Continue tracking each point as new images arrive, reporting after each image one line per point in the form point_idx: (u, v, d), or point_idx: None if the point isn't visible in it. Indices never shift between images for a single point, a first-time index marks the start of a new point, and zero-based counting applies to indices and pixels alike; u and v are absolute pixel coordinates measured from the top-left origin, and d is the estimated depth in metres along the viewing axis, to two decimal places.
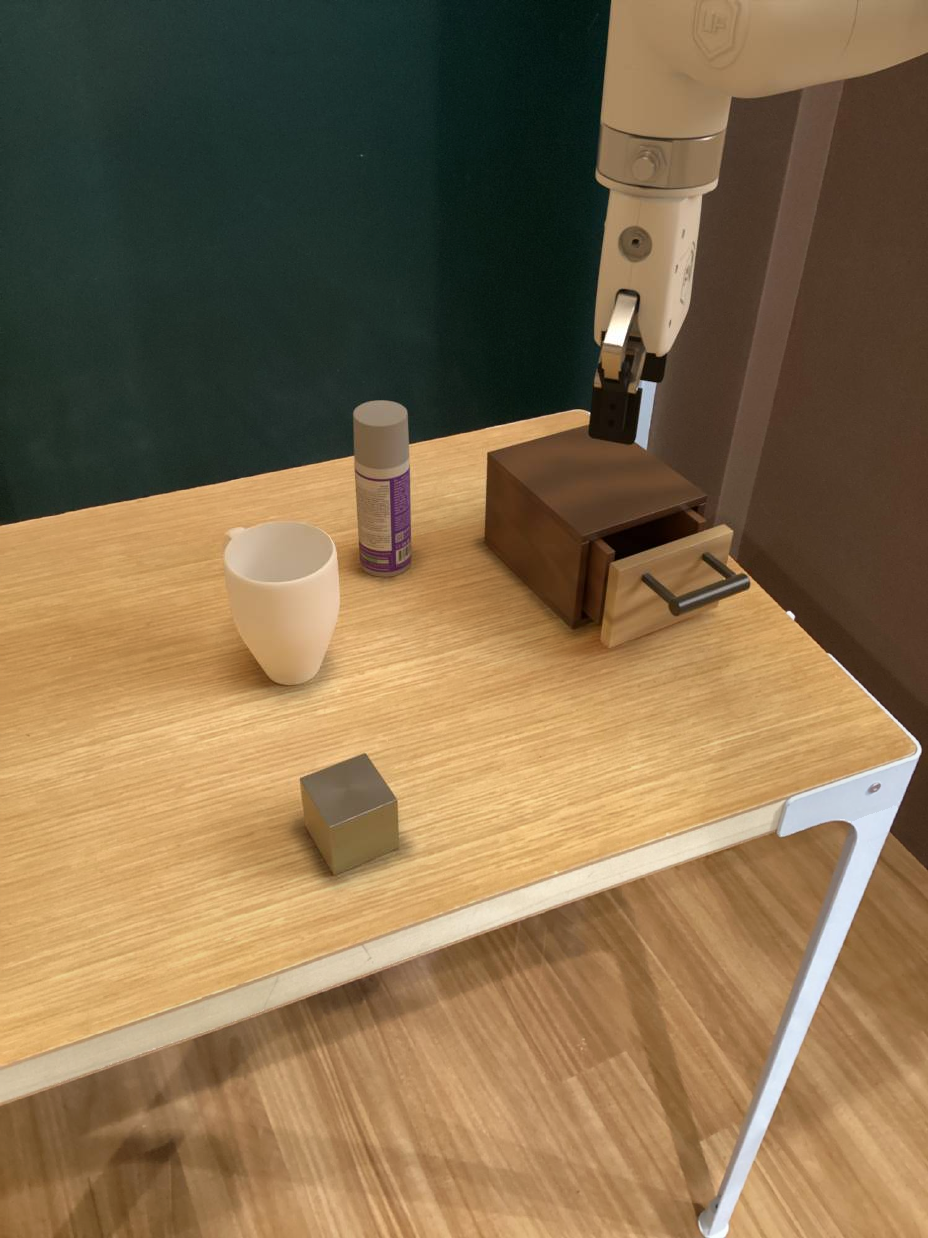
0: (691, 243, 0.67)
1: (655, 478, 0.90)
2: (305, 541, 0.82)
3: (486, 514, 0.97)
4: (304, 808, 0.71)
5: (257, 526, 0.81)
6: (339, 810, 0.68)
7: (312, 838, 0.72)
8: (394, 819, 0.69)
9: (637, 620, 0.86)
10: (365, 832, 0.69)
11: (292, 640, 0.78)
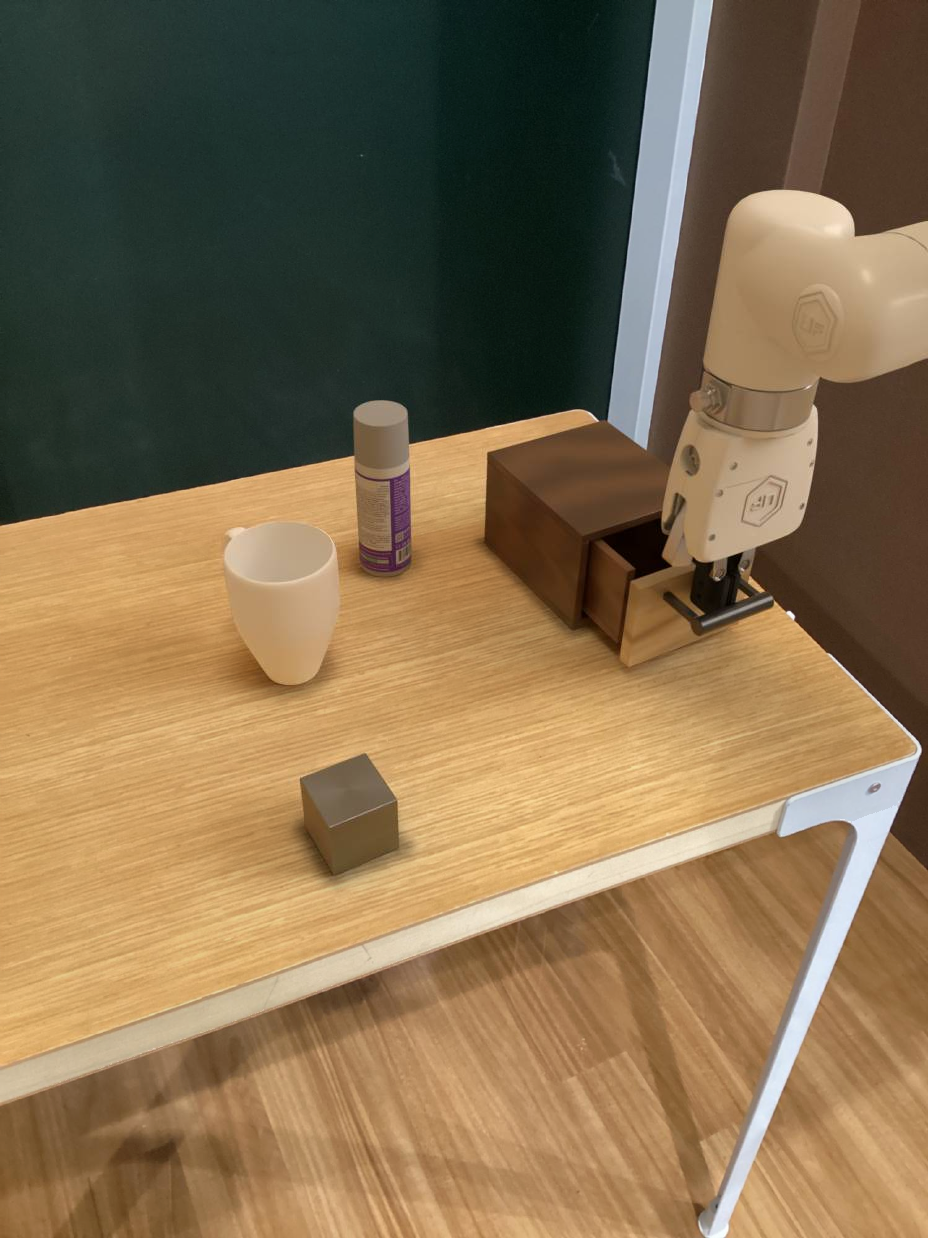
0: (762, 476, 0.72)
1: (655, 478, 0.90)
2: (305, 541, 0.82)
3: (486, 514, 0.97)
4: (304, 808, 0.71)
5: (257, 526, 0.81)
6: (339, 810, 0.68)
7: (312, 838, 0.72)
8: (394, 819, 0.69)
9: (657, 639, 0.84)
10: (365, 832, 0.69)
11: (292, 640, 0.78)
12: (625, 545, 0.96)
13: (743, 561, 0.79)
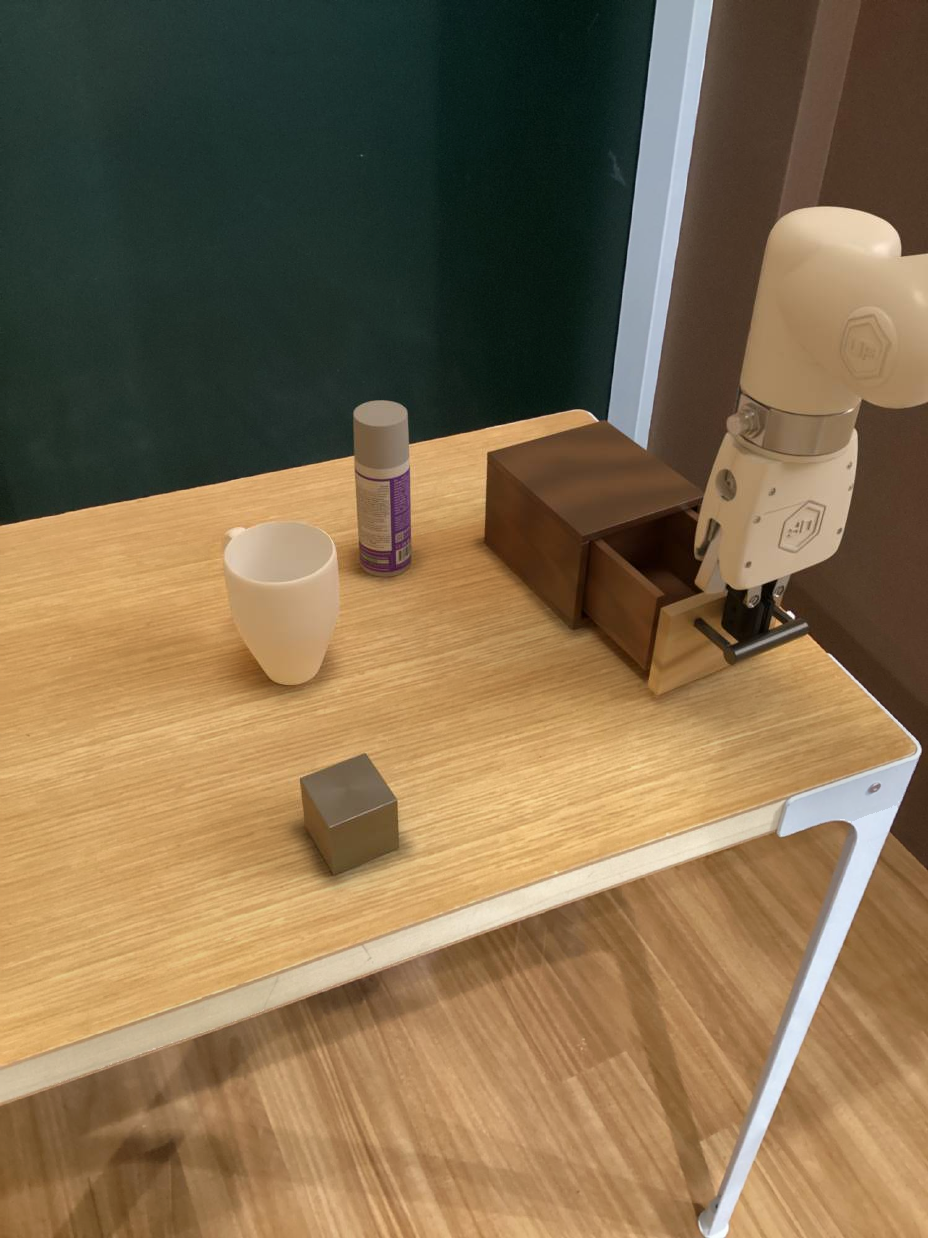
0: (800, 502, 0.69)
1: (655, 478, 0.90)
2: (305, 541, 0.82)
3: (486, 514, 0.97)
4: (304, 808, 0.71)
5: (257, 526, 0.81)
6: (339, 810, 0.68)
7: (312, 838, 0.72)
8: (394, 819, 0.69)
9: (687, 666, 0.82)
10: (365, 832, 0.69)
11: (292, 640, 0.78)
12: (650, 566, 0.93)
13: (778, 587, 0.76)
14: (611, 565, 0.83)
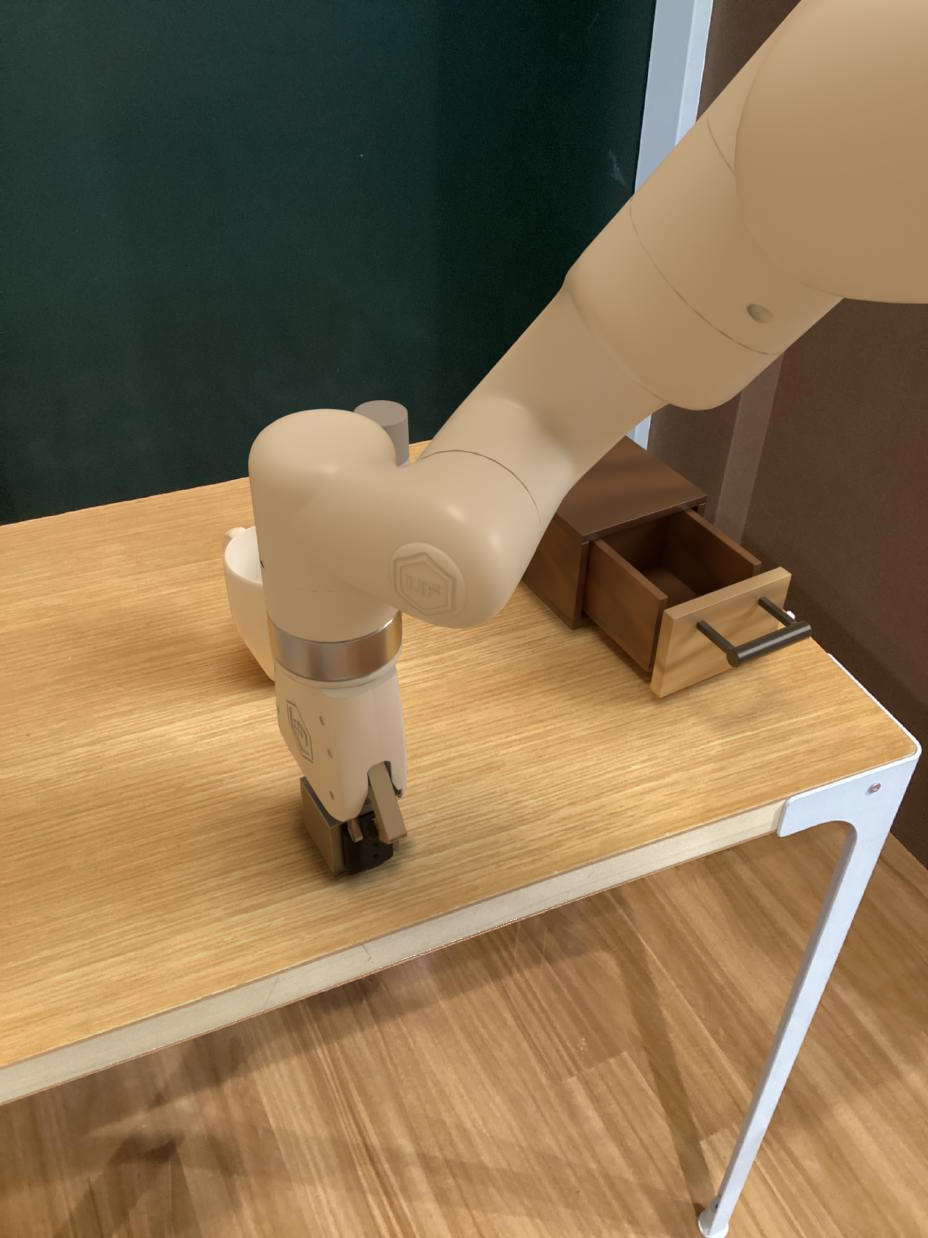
0: (291, 696, 0.63)
1: (655, 478, 0.90)
2: None
3: None
4: (304, 808, 0.71)
5: None
6: None
7: (312, 838, 0.72)
8: None
9: (690, 668, 0.82)
10: None
11: None
12: (652, 568, 0.93)
13: (350, 827, 0.66)
14: (613, 567, 0.83)
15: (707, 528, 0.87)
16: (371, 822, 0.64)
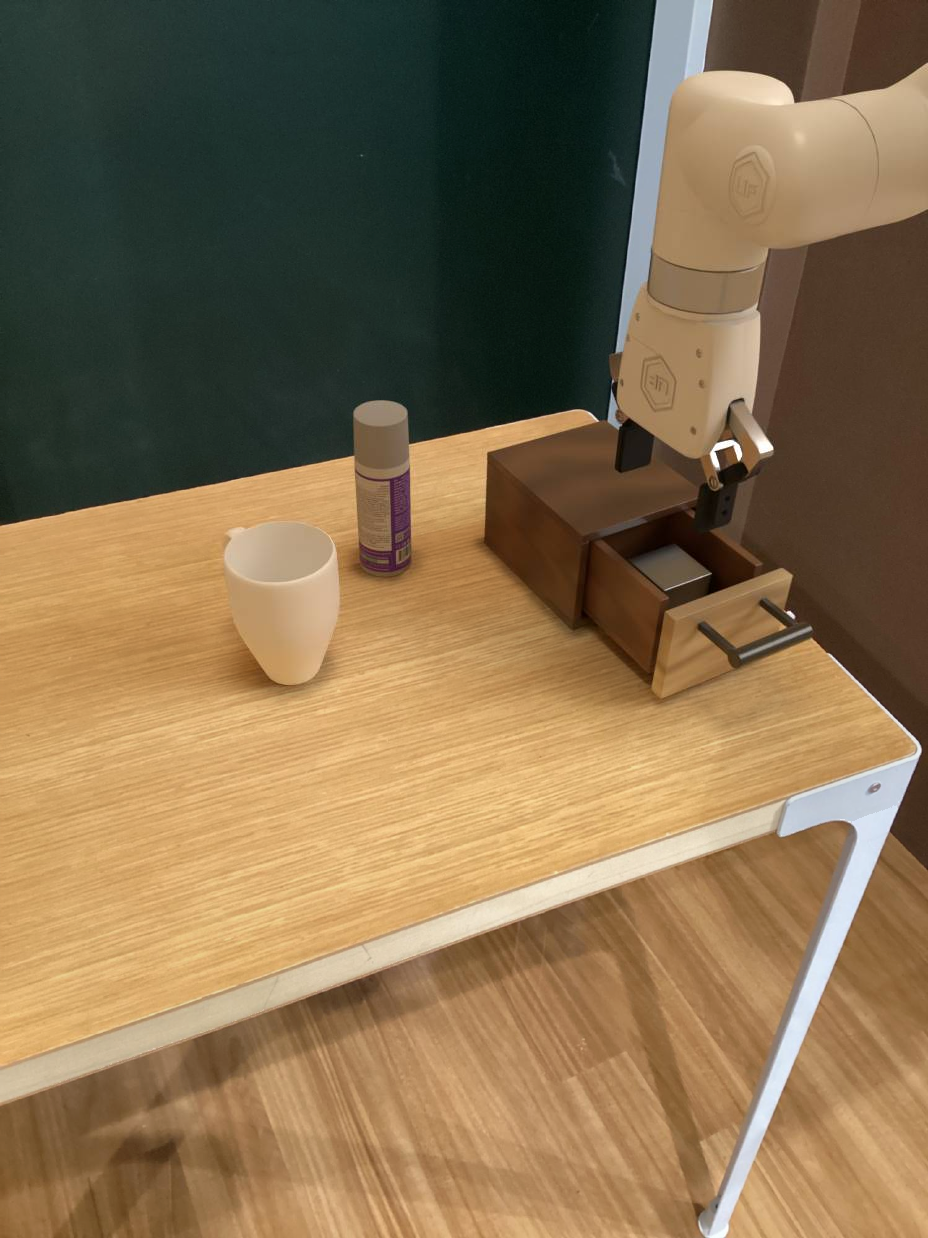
0: (655, 350, 0.74)
1: (655, 478, 0.90)
2: (305, 541, 0.82)
3: (486, 514, 0.97)
4: None
5: (257, 526, 0.81)
6: None
7: None
8: None
9: (691, 669, 0.82)
10: None
11: (292, 640, 0.78)
12: None
13: (712, 476, 0.75)
14: (615, 568, 0.83)
15: None
16: (737, 462, 0.74)
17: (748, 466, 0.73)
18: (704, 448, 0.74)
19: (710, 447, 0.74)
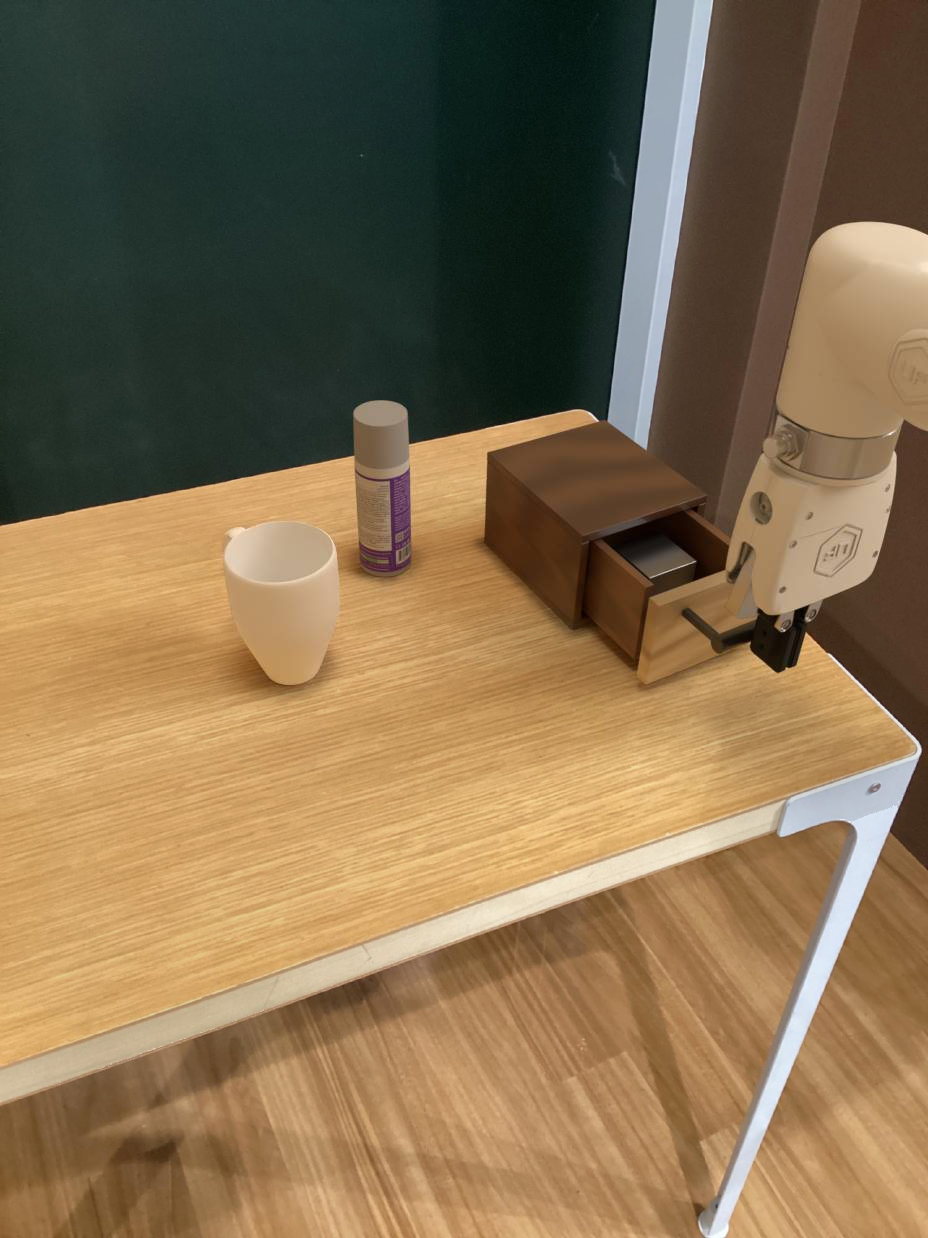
0: (837, 525, 0.67)
1: (655, 478, 0.90)
2: (305, 541, 0.82)
3: (486, 514, 0.97)
4: None
5: (257, 526, 0.81)
6: None
7: None
8: None
9: (675, 655, 0.83)
10: None
11: (292, 640, 0.78)
12: None
13: (810, 611, 0.74)
14: (601, 556, 0.84)
15: (693, 518, 0.88)
16: None
17: None
18: None
19: None
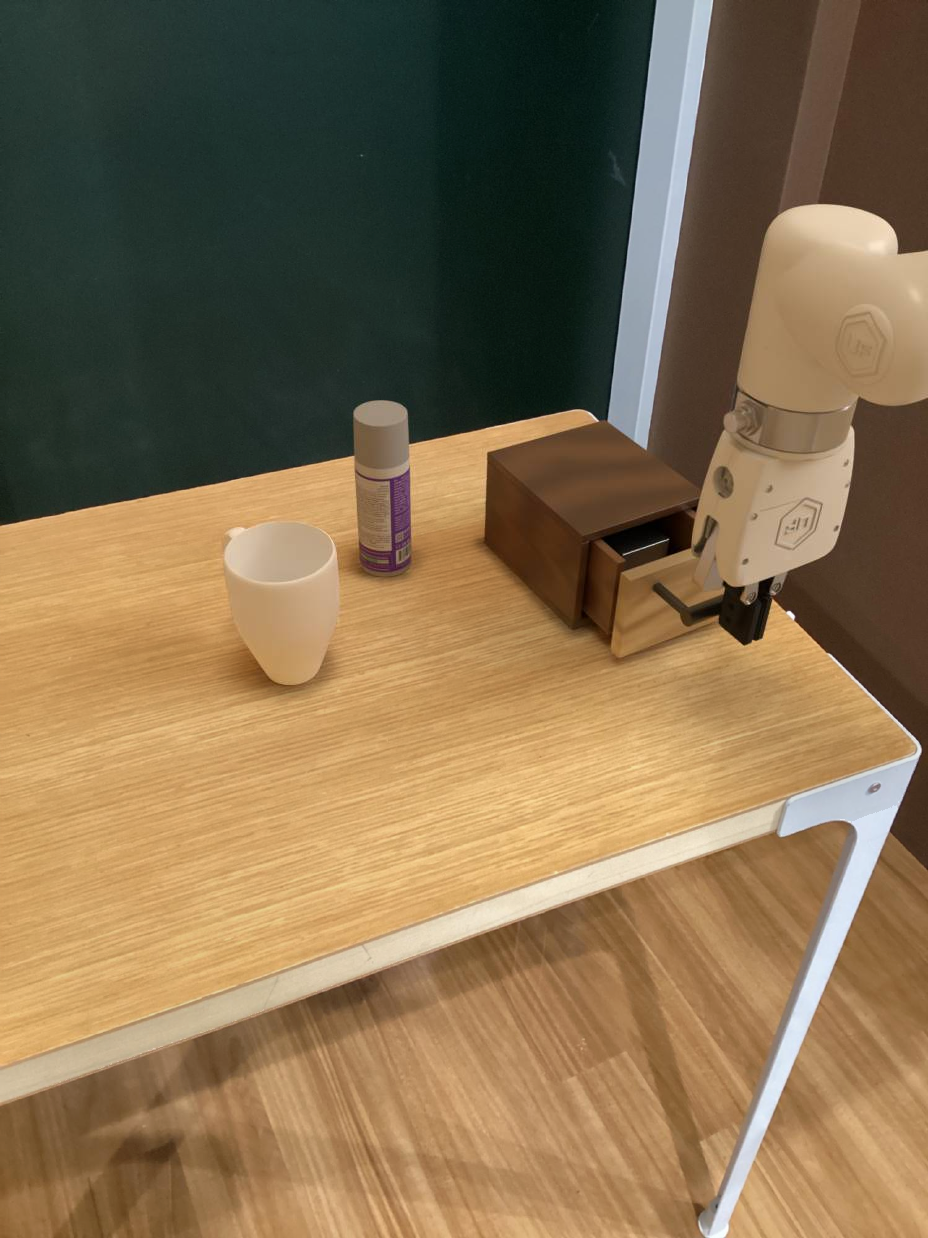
0: (797, 499, 0.69)
1: (655, 478, 0.90)
2: (305, 541, 0.82)
3: (486, 514, 0.97)
4: None
5: (257, 526, 0.81)
6: None
7: None
8: None
9: (648, 630, 0.85)
10: None
11: (292, 640, 0.78)
12: None
13: (774, 584, 0.76)
14: None
15: None
16: None
17: None
18: None
19: None
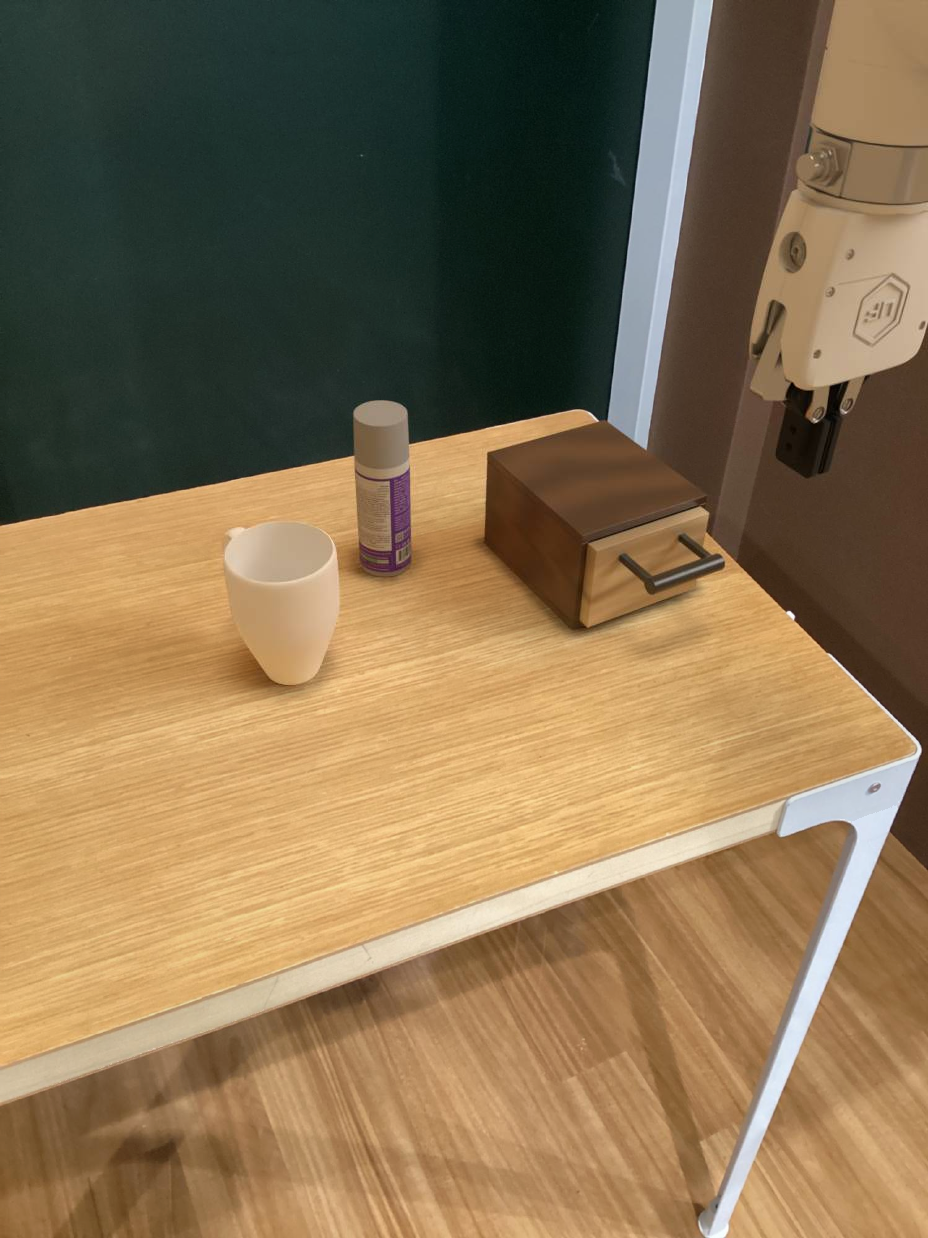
0: (882, 274, 0.57)
1: (655, 478, 0.90)
2: (305, 541, 0.82)
3: (486, 514, 0.97)
4: None
5: (257, 526, 0.81)
6: None
7: None
8: None
9: (615, 600, 0.88)
10: None
11: (292, 640, 0.78)
12: None
13: (846, 399, 0.64)
14: None
15: None
16: None
17: None
18: None
19: None
